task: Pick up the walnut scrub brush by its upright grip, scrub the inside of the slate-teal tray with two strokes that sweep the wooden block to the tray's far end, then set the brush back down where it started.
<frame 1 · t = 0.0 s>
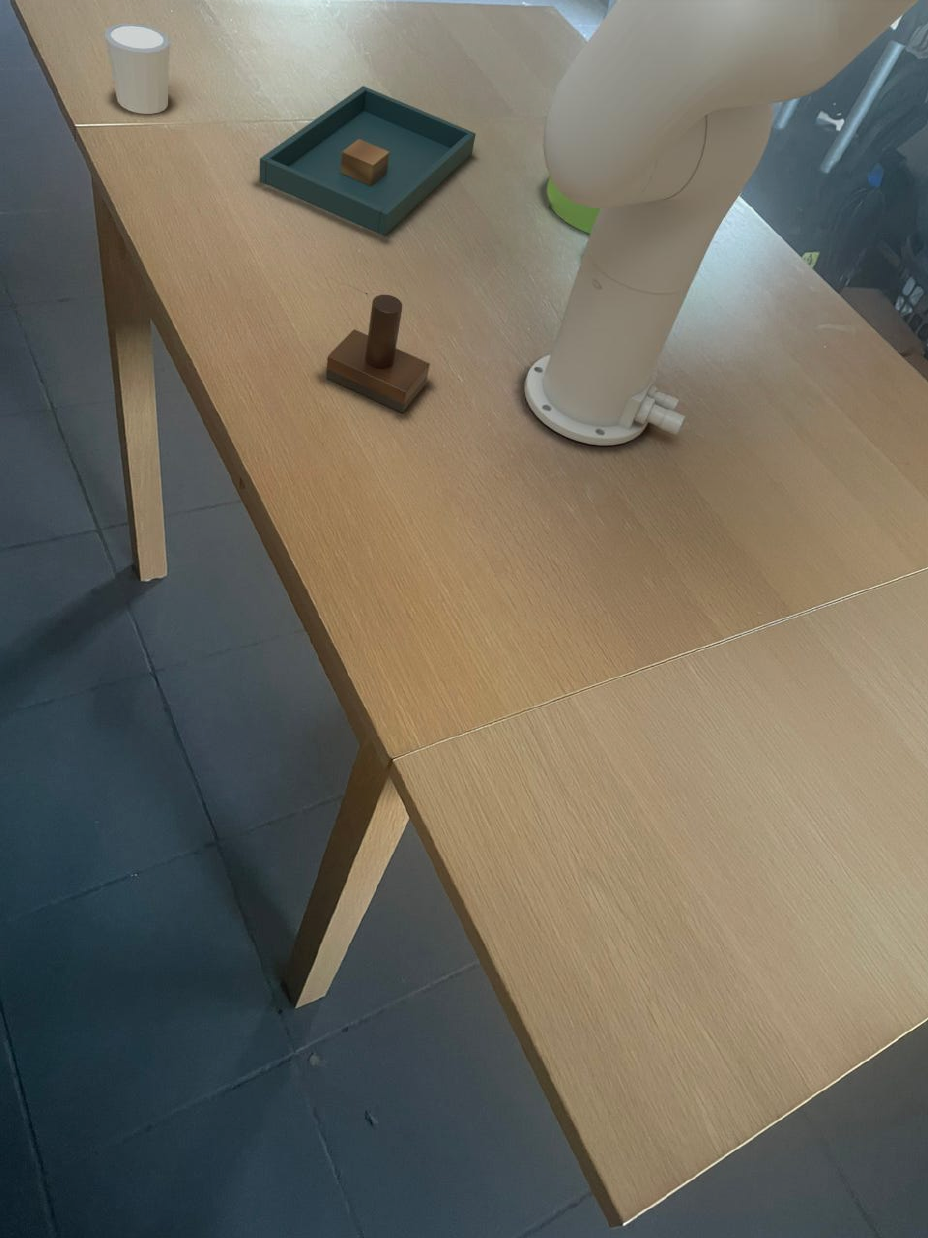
shot glass: (142, 103, 107), on the table
tray: (371, 170, 108), on the table
wooden block: (363, 172, 106), resting on tray
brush: (376, 381, 86), on the table
food container: (612, 231, 110), on the table
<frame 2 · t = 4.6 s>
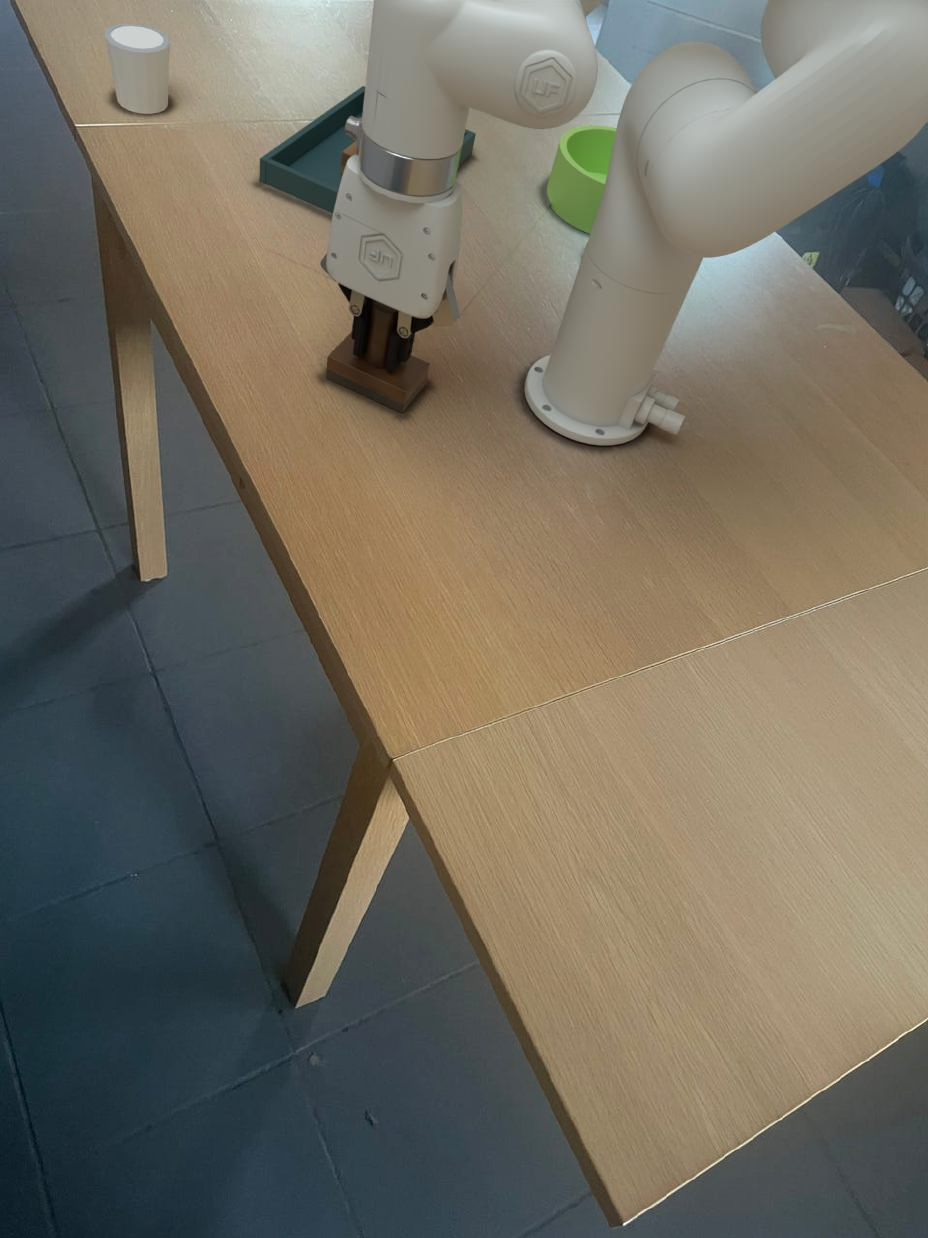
hand: (380, 354, 83), 3 cm above the table, tool pointing down, fingers closed on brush, 2 cm apart
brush: (376, 381, 86), on the table, touching gripper
everything else where it was.
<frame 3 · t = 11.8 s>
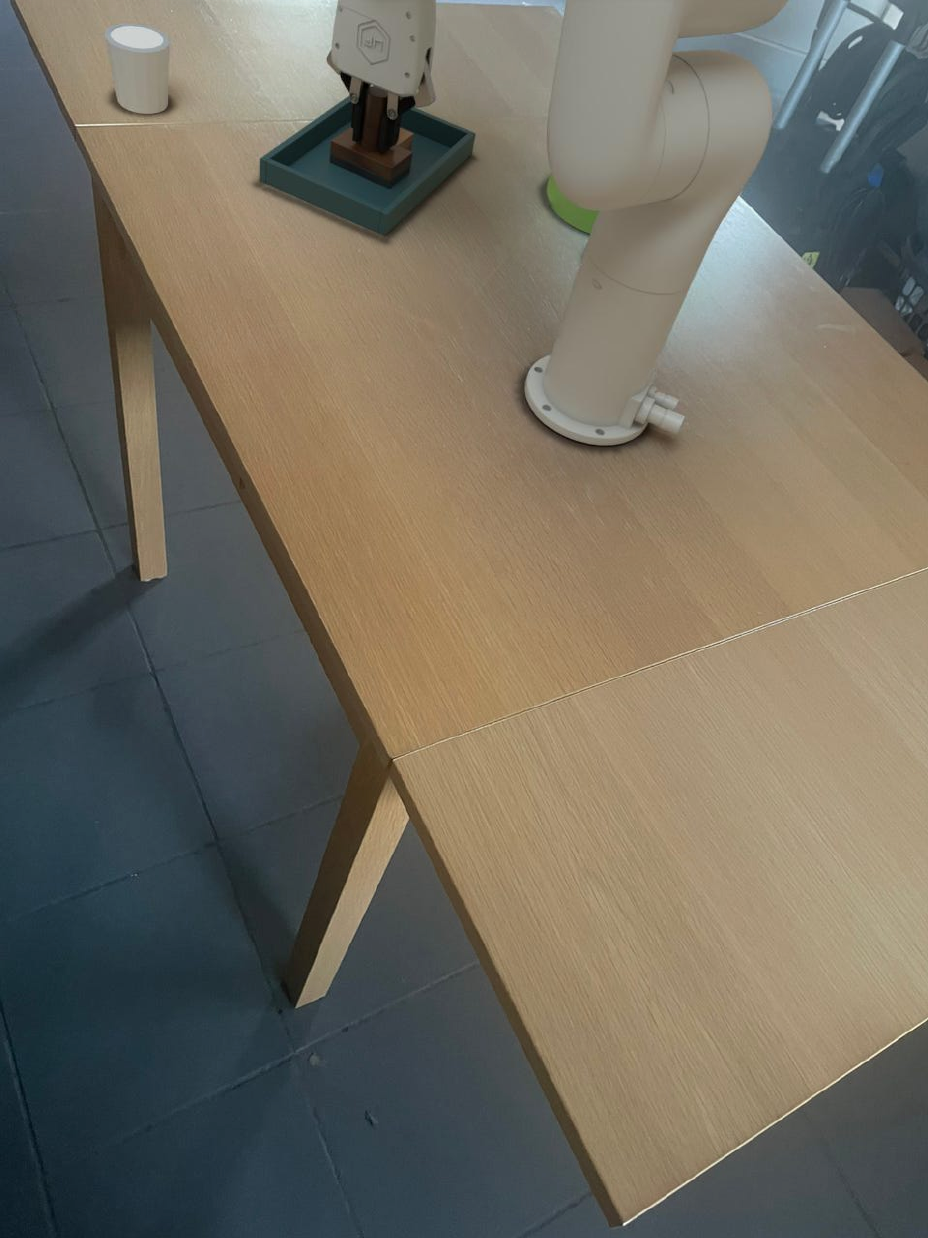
hand: (373, 141, 105), 3 cm above the table, tool pointing down, fingers closed on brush, 2 cm apart
wooden block: (388, 153, 110), resting on tray, touching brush
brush: (369, 167, 107), point 1 cm above the table, touching wooden block, gripper
everything else where it was.
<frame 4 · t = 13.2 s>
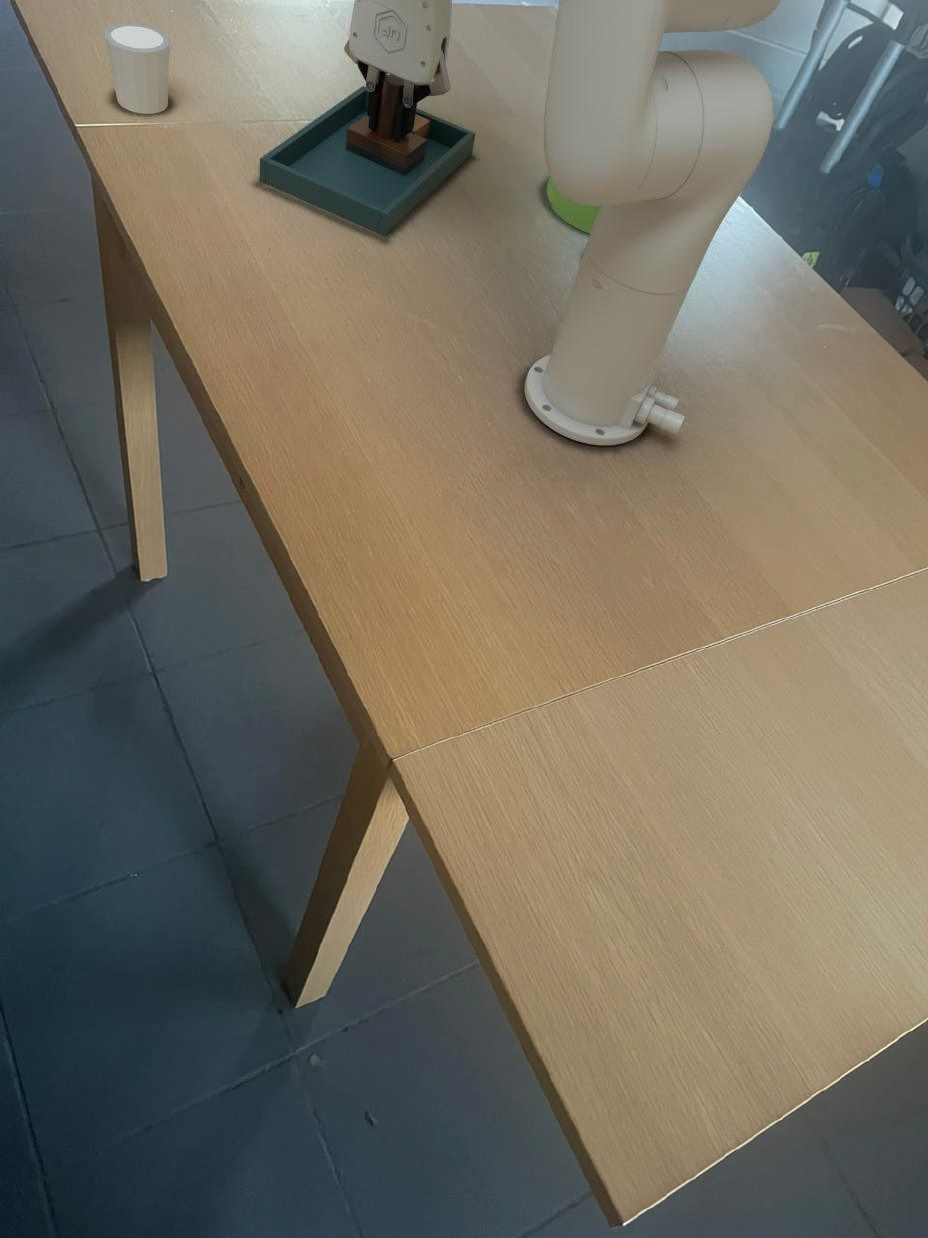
hand: (389, 129, 107), 3 cm above the table, tool pointing down, fingers closed on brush, 2 cm apart
wooden block: (405, 139, 112), resting on tray
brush: (384, 154, 109), point 1 cm above the table, touching gripper
everything else where it was.
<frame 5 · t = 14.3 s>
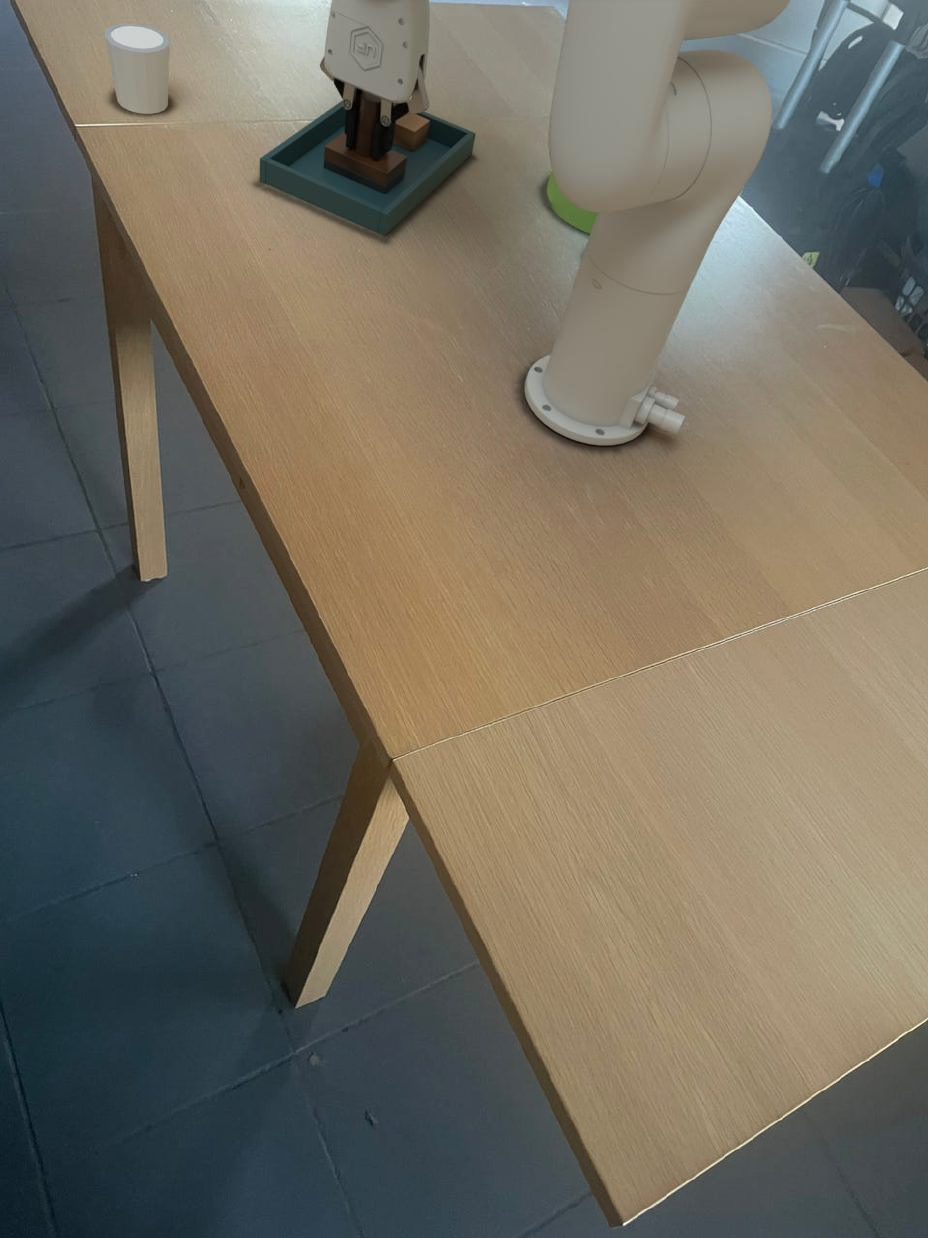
hand: (367, 147, 104), 3 cm above the table, tool pointing down, fingers closed on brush, 2 cm apart
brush: (364, 172, 106), point 1 cm above the table, touching gripper
everything else where it was.
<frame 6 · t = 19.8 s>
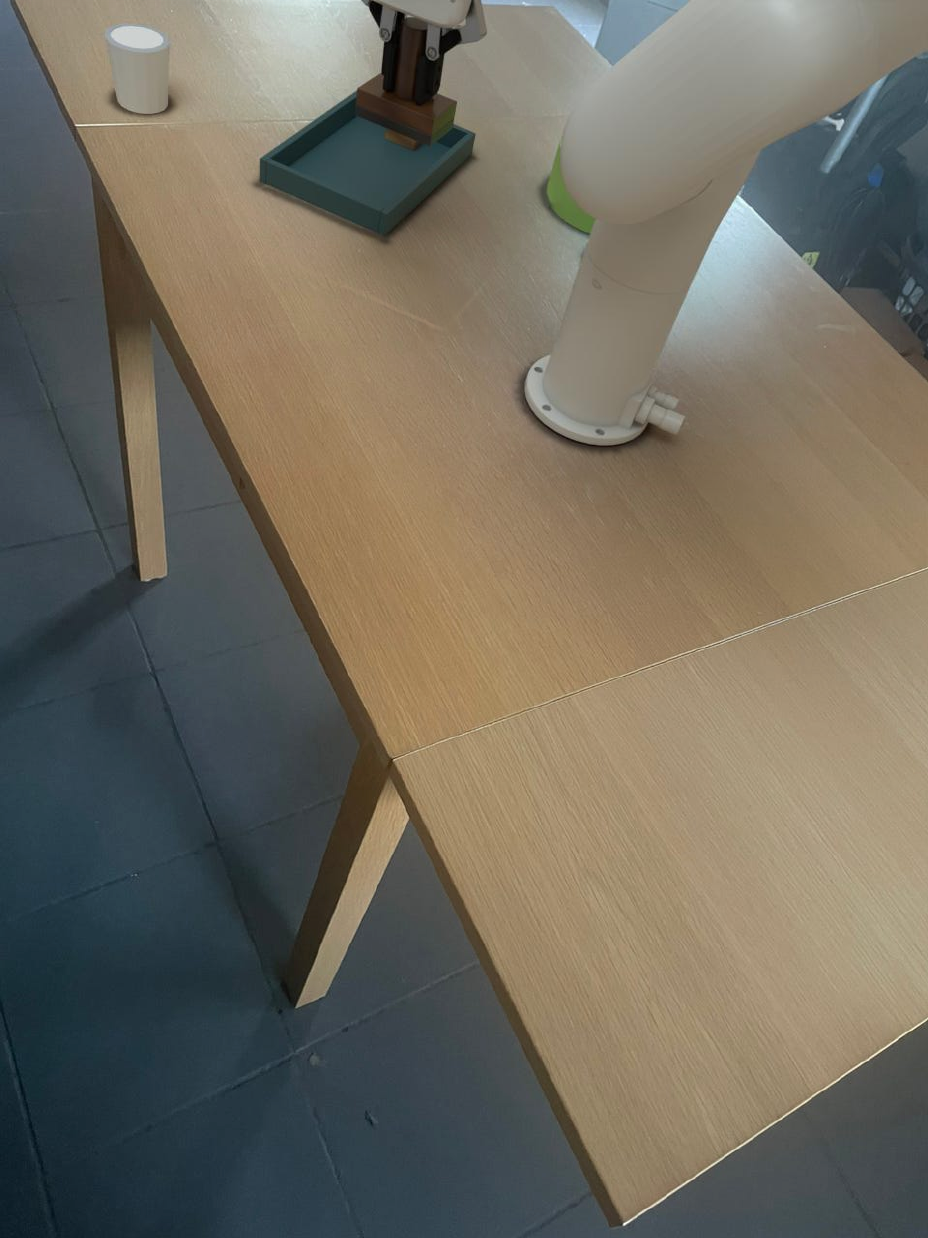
hand: (409, 91, 85), 17 cm above the table, tool pointing down, fingers closed on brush, 2 cm apart
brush: (404, 121, 87), point 14 cm above the table, touching gripper
when the fingers open (3 cm above the table, at t = 24.3 s): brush stays where it is, on the table.
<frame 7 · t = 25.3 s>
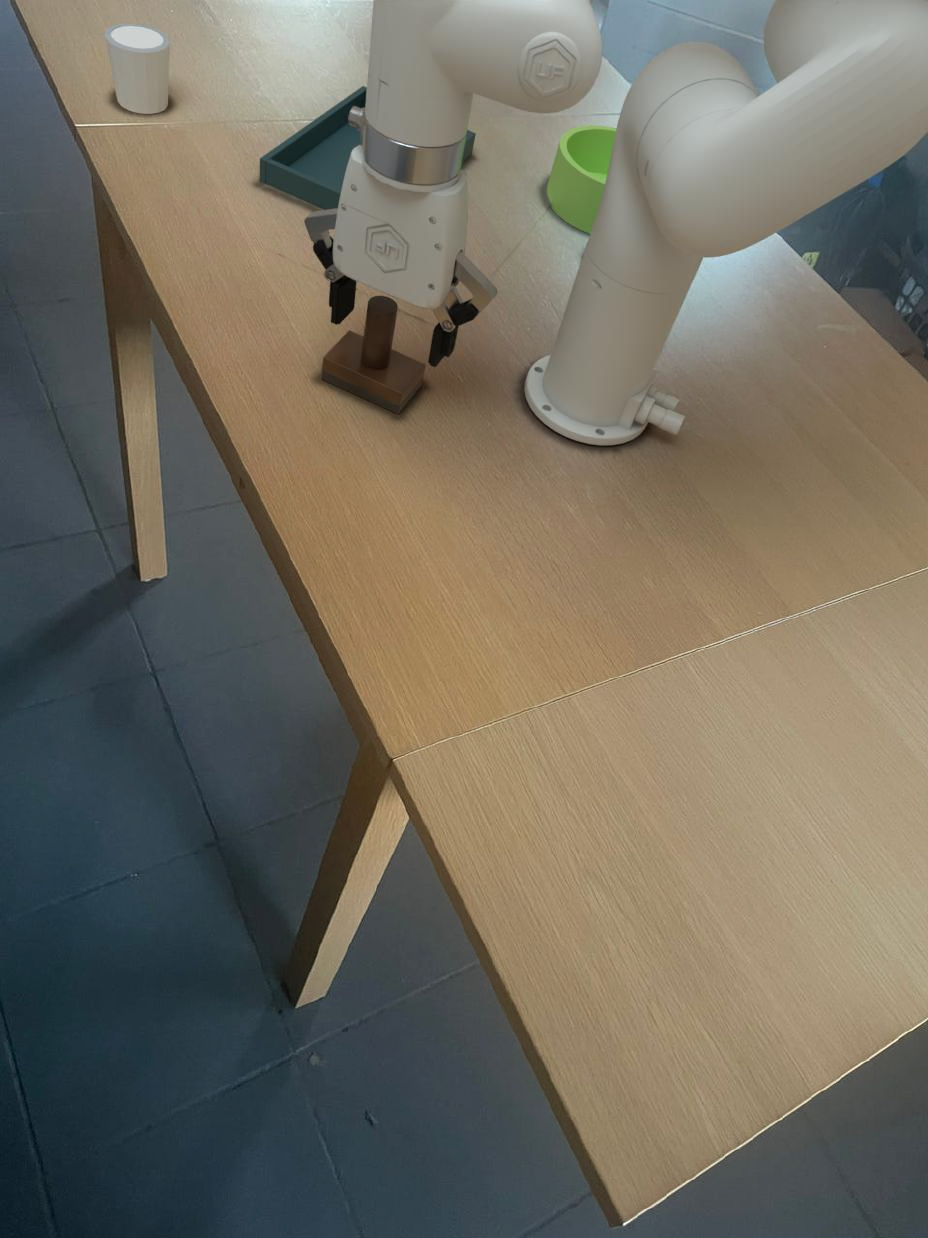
hand: (390, 337, 82), 5 cm above the table, tool pointing down, fingers open, 9 cm apart
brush: (371, 382, 86), on the table
everything else where it was.
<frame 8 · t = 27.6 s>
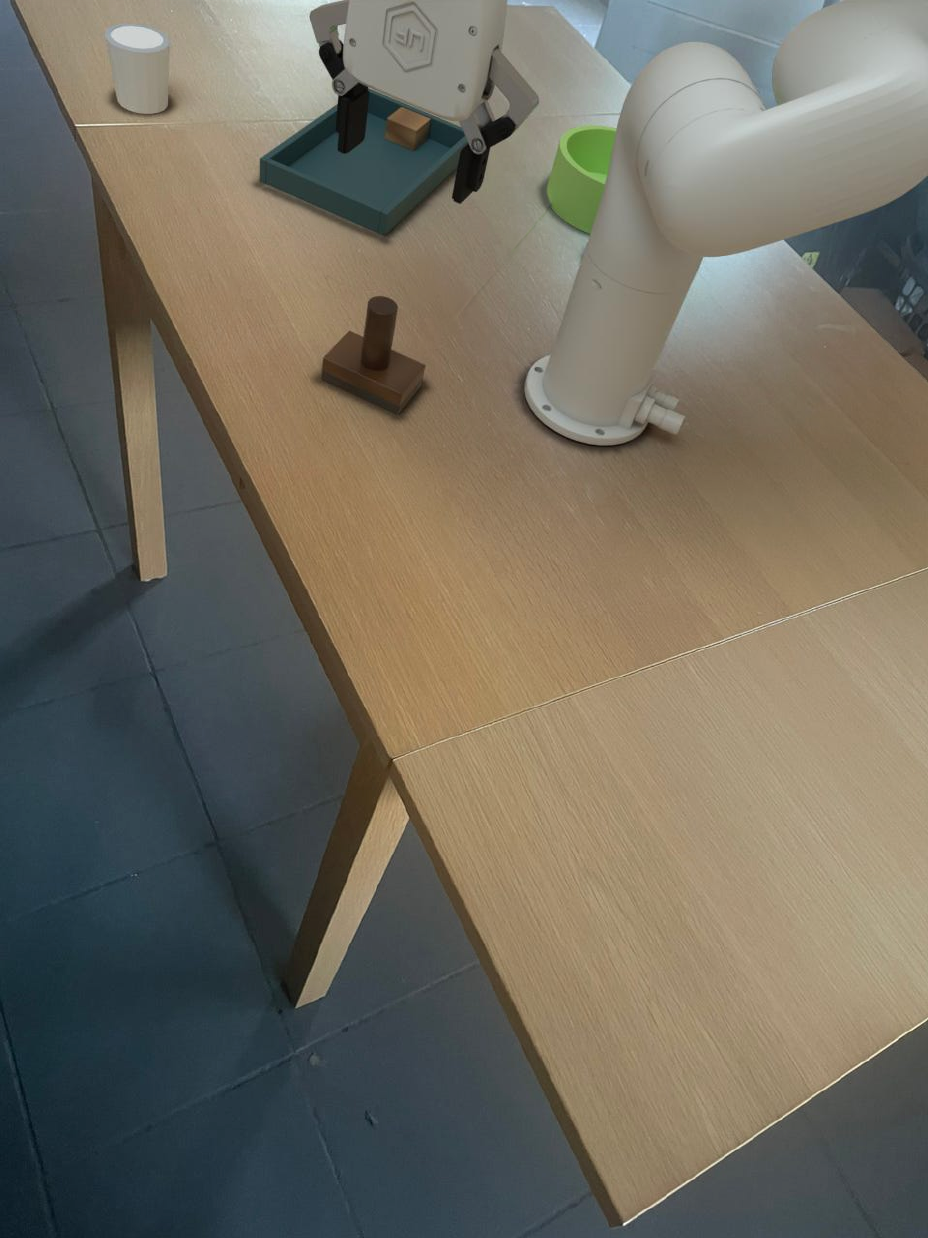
hand: (406, 170, 70), 20 cm above the table, tool pointing down, fingers open, 9 cm apart
nothing on the table moved.
at the end: wooden block inside the target area in the tray (0.6 cm from its centre), point 0.5 cm above the tray's base; wooden block moved 10.8 cm from its start; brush inside the target area (0.5 cm from its centre), on the table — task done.
